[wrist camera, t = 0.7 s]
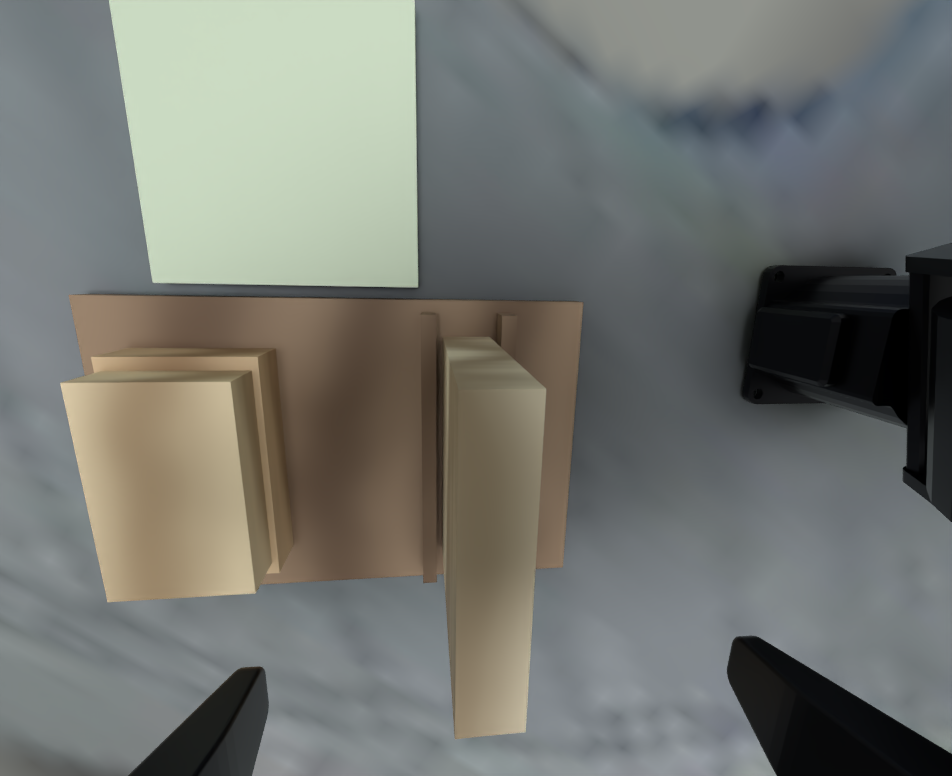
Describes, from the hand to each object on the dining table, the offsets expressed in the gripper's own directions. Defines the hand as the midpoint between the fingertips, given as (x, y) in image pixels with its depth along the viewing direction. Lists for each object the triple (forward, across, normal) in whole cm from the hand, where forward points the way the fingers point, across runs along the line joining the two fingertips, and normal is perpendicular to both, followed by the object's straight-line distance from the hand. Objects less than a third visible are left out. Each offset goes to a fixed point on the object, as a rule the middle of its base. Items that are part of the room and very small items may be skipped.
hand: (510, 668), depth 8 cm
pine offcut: (+10, +10, 0) cm, 14 cm away
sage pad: (+13, +7, -12) cm, 19 cm away
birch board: (+12, 0, 0) cm, 12 cm away
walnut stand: (+13, +5, 0) cm, 14 cm away
